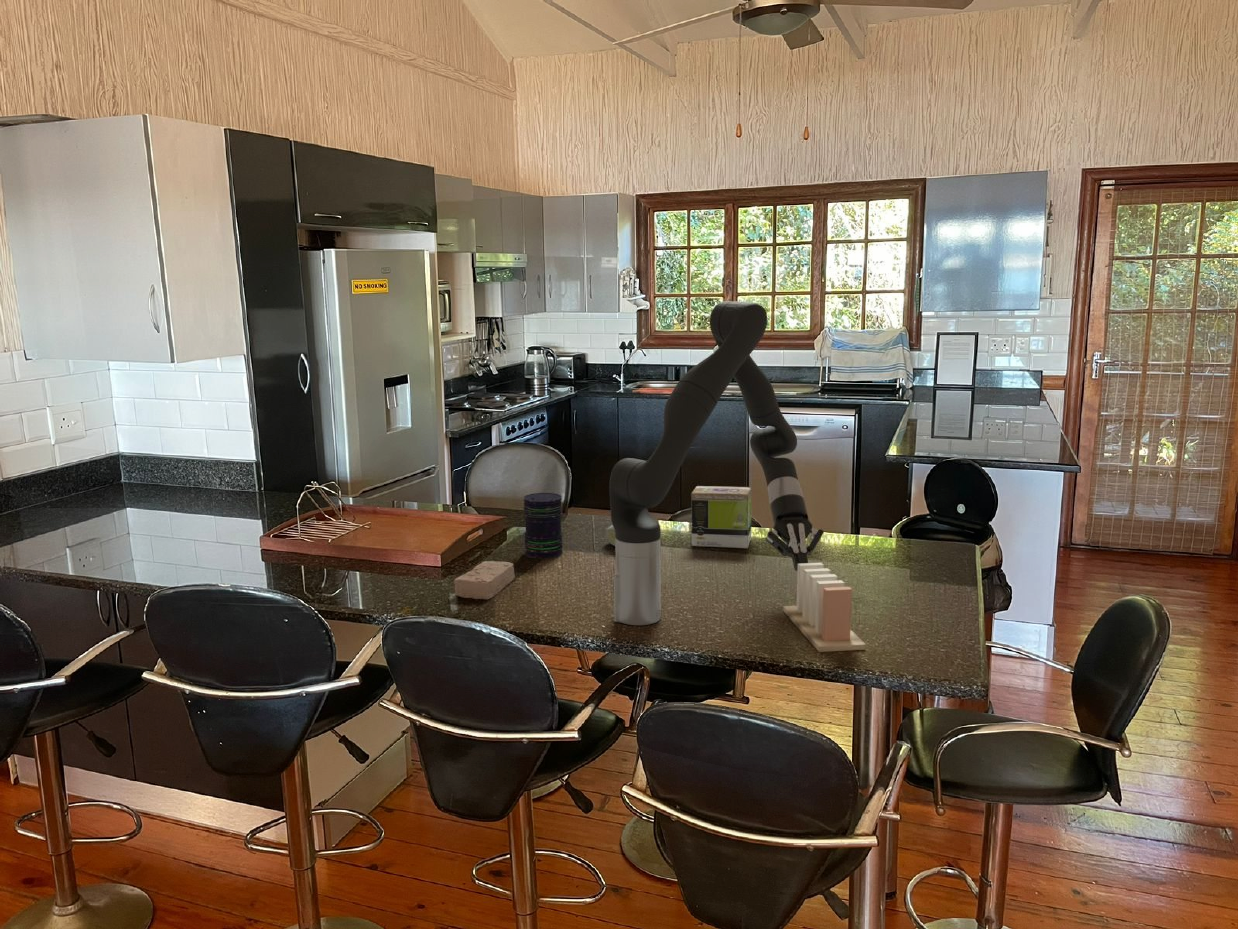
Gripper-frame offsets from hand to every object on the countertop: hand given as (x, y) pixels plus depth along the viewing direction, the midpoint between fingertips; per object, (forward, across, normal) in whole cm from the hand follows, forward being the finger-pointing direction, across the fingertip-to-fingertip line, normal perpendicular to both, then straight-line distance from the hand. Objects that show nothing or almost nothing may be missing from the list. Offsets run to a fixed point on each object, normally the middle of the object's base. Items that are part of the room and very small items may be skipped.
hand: (802, 571), depth 197 cm
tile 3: (+14, 0, -4) cm, 15 cm away
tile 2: (+11, 0, -1) cm, 11 cm away
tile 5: (+20, 0, -10) cm, 22 cm away
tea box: (-31, -5, +43) cm, 53 cm away
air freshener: (-32, -31, +44) cm, 63 cm away
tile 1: (+8, 0, +2) cm, 8 cm away
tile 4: (+17, 0, -7) cm, 18 cm away
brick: (-11, -67, +23) cm, 72 cm away
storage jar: (-29, -53, +41) cm, 73 cm away
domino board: (+15, 0, -3) cm, 15 cm away
